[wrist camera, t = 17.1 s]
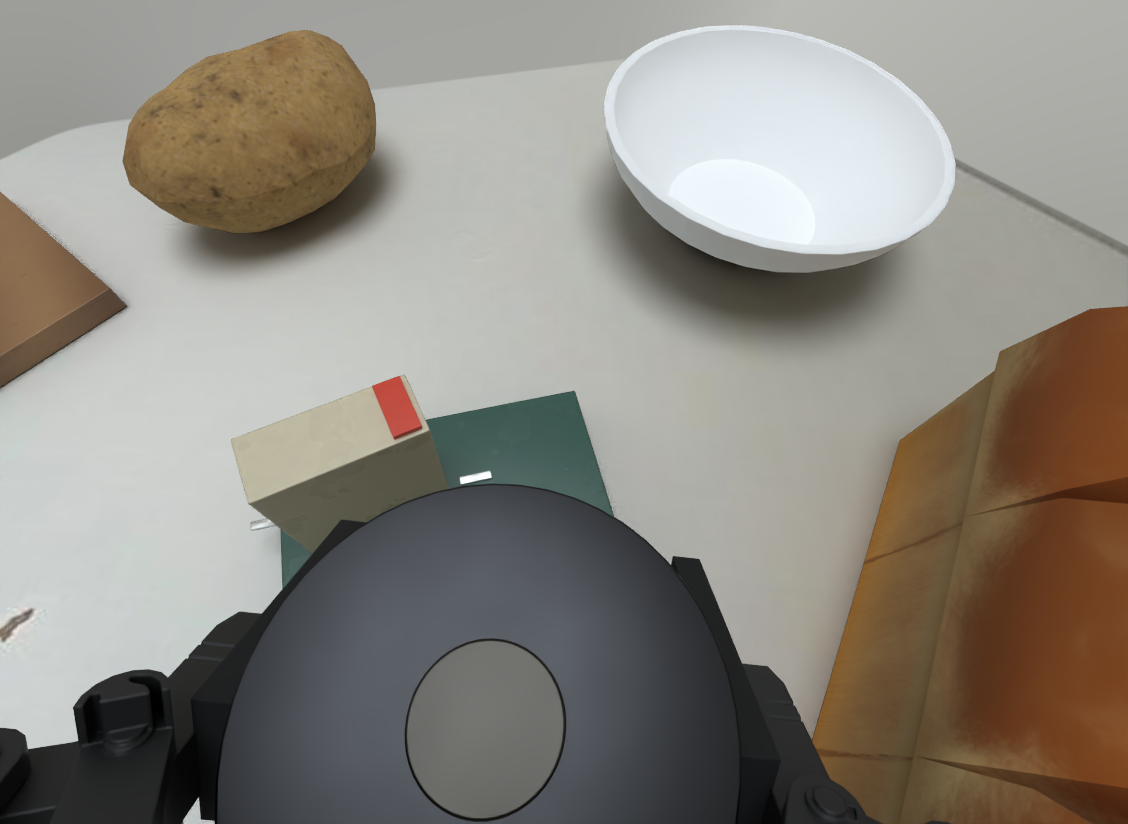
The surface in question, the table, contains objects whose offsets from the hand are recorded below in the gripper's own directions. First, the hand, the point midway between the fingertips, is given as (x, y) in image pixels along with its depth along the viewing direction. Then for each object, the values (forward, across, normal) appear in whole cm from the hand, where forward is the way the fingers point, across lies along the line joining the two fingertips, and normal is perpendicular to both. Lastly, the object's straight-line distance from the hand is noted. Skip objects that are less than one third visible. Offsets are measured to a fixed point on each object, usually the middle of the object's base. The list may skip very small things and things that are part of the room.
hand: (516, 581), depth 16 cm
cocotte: (-1, 0, -4) cm, 4 cm away
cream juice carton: (+8, -7, -2) cm, 11 cm away
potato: (+24, -18, +10) cm, 31 cm away
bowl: (+26, +11, +12) cm, 31 cm away
